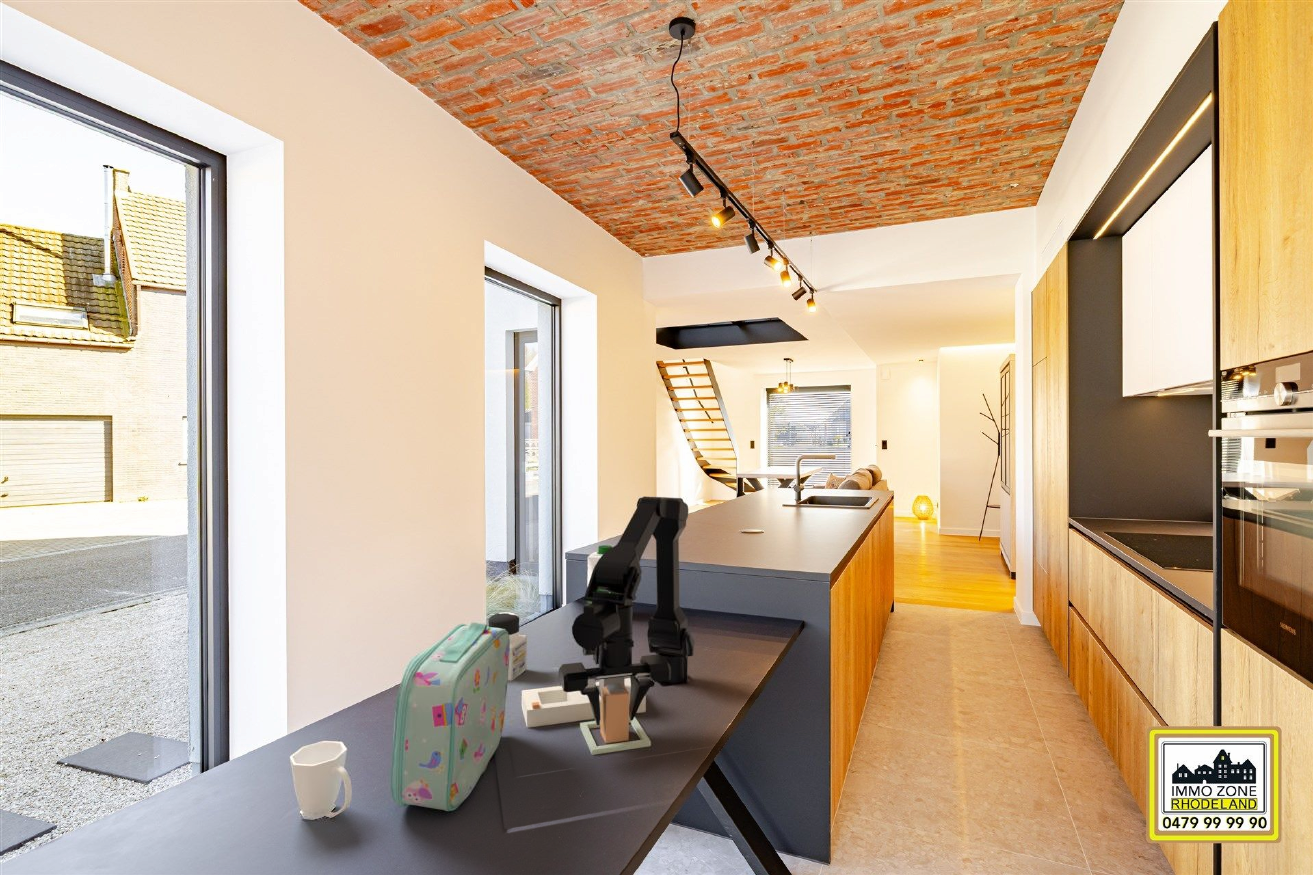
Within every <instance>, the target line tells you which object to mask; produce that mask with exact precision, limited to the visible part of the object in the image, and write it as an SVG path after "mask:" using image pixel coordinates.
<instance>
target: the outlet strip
mask: <svg viewBox="0 0 1313 875" xmlns="http://www.w3.org/2000/svg"><path fill="white" fill-rule="evenodd" d="M596 686H597V688H598V690H599V681H596ZM624 686H625V688H626V689H627V691H628V692H629V703H630V691H631V680H630V677H628V678H625V682H624ZM599 700H600V719H601V696H600V695H599ZM646 702H647V695H645V696H644V698H643V700H642V702H641V704H640V706H639V708H638V710H637V713H636V714H639V713H646V709H647V706H646V705H647V704H646ZM521 709H522V713H523V718H524V721H525V725H526V728H532V727H533V728H535V727H536V728H537V727H541V726H549V725H557V724H564V723H572V722H573V723H574V722H580V721H587V720H595V718H594V715H593V711H592V708H591V705H590V702H589V699H588V696H587V695H582V694H581V693H580V691H575V692H564V691H563V688H562V686H561V685H557V686H549V687H541V688H540V687H539V688H532V689H523V690H521Z"/></svg>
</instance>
